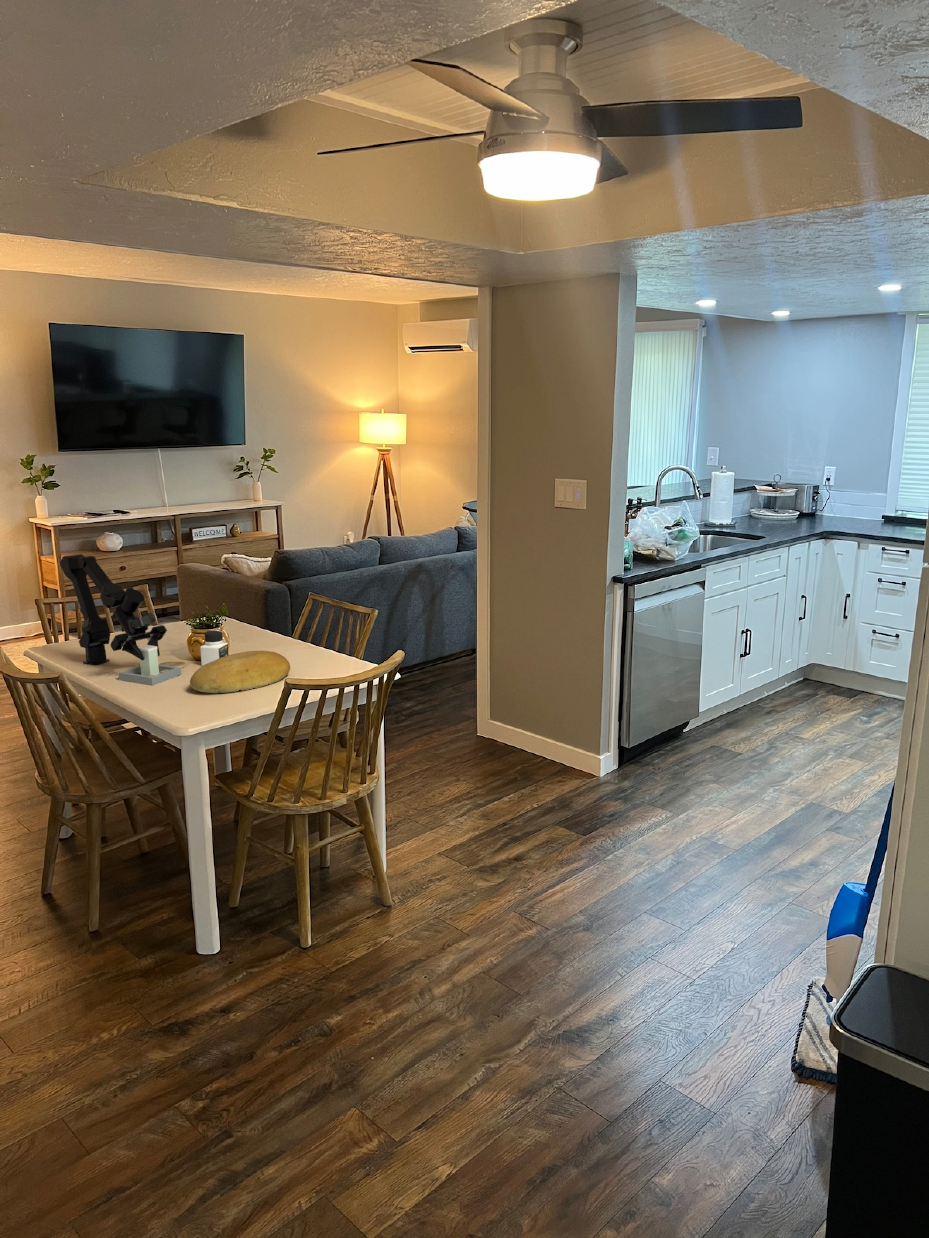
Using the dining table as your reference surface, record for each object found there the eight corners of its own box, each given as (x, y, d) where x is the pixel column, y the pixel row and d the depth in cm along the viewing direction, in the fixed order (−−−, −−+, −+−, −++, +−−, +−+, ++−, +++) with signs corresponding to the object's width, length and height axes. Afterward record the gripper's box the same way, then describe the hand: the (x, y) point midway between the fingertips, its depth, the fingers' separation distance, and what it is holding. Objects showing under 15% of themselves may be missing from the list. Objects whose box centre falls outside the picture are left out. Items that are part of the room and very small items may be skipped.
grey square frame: (119, 680, 303) (118, 672, 303) (148, 669, 315) (148, 662, 315) (152, 685, 297) (151, 678, 297) (181, 674, 309) (180, 667, 309)
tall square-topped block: (141, 678, 305) (138, 647, 303) (150, 675, 309) (147, 645, 307) (150, 679, 304) (148, 649, 301) (159, 676, 307) (157, 646, 305)
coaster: (149, 668, 317) (149, 667, 317) (170, 661, 325) (170, 660, 325) (172, 671, 312) (171, 670, 312) (192, 664, 321) (192, 663, 321)
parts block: (160, 677, 307) (160, 671, 307) (166, 675, 310) (166, 669, 309) (167, 678, 306) (167, 672, 305) (173, 676, 308) (173, 670, 308)
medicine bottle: (220, 667, 318) (218, 634, 315) (201, 666, 319) (198, 633, 316) (229, 661, 325) (227, 629, 322) (210, 660, 326) (208, 628, 323)
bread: (180, 690, 293) (178, 660, 291) (269, 667, 319) (268, 639, 316) (213, 702, 281) (211, 671, 279) (303, 677, 307) (301, 648, 305)
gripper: (112, 611, 296) (135, 649, 292) (161, 601, 310) (184, 637, 307) (100, 631, 302) (123, 669, 298) (149, 621, 317) (171, 656, 313)
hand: (151, 657), depth 304 cm, fingers open, 6 cm apart
